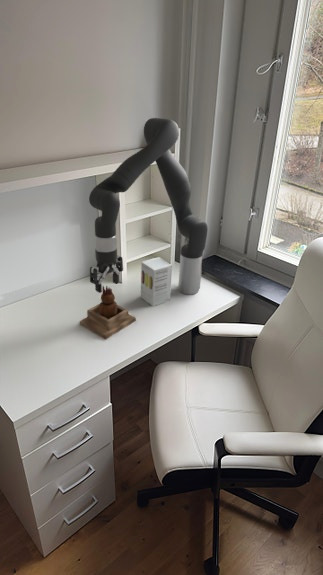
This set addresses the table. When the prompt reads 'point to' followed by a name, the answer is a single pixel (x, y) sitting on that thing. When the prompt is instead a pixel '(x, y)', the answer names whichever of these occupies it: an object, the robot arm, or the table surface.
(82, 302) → the table surface
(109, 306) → the wooden figurine
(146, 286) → the supplement box
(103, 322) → the holder
